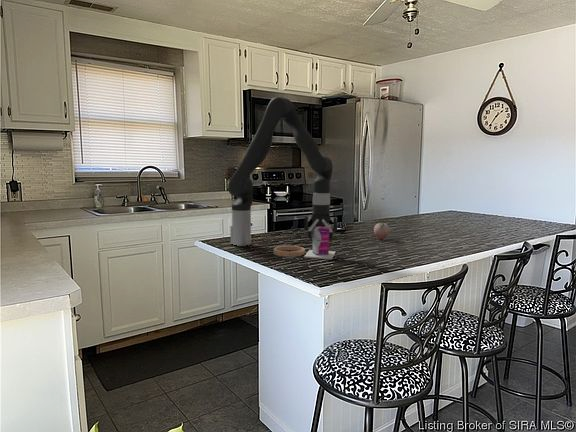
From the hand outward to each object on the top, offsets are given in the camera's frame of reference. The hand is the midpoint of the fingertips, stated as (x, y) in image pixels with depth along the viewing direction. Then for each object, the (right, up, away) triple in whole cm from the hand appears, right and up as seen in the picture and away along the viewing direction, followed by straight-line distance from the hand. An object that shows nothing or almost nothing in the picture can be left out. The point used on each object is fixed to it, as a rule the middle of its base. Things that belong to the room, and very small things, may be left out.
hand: (320, 240), depth 180 cm
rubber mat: (0, -7, +1) cm, 7 cm away
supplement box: (0, -6, +1) cm, 6 cm away
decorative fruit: (+35, -2, +38) cm, 52 cm away
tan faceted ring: (-14, -6, +4) cm, 16 cm away
